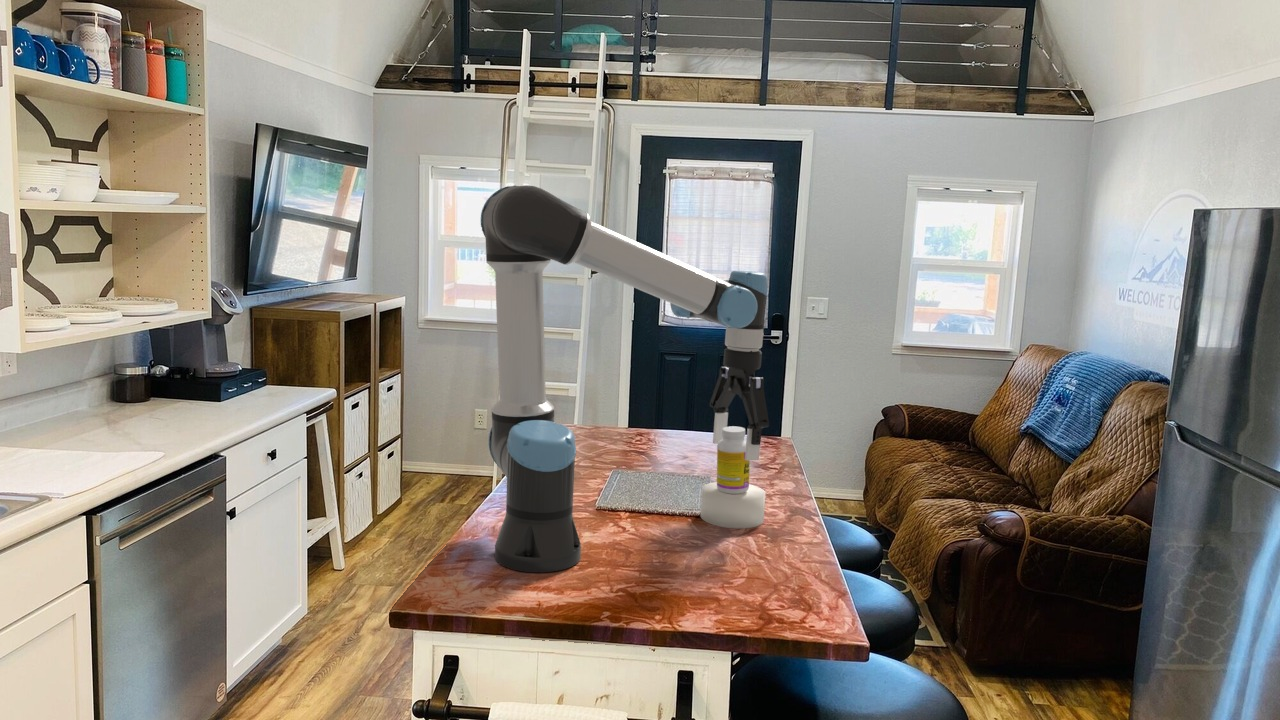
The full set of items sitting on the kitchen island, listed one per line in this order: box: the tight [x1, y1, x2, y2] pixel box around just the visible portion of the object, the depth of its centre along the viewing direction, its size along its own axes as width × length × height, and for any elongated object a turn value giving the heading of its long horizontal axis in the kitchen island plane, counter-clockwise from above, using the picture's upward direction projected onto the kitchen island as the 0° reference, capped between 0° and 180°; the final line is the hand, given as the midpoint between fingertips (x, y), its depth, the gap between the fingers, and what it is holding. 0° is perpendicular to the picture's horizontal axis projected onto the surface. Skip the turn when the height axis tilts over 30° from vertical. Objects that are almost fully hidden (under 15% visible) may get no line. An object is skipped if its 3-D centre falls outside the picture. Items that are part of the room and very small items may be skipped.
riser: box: [700, 481, 766, 529], centre depth 189 cm, size 13×13×6 cm
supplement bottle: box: [716, 425, 751, 494], centre depth 187 cm, size 7×7×13 cm
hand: (734, 451), depth 187 cm, fingers open, 13 cm apart
